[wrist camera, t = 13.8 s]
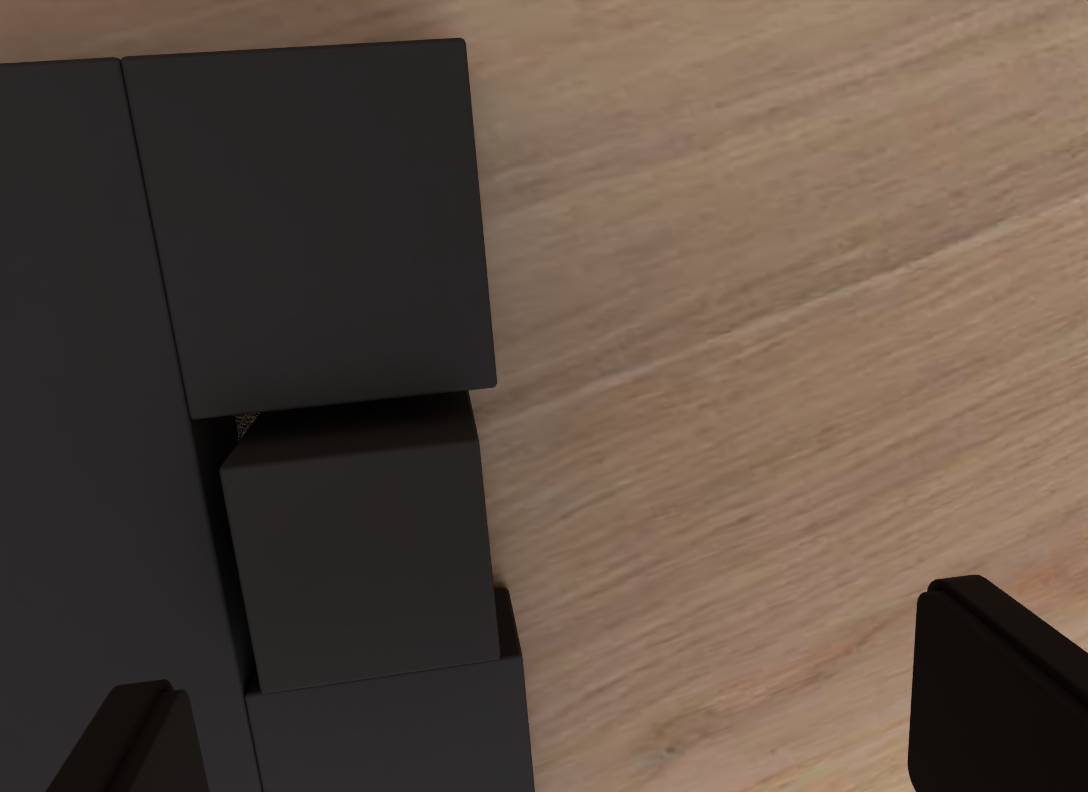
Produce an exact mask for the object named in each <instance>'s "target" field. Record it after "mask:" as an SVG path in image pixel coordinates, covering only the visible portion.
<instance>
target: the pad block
mask: <svg viewBox="0 0 1088 792" xmlns="http://www.w3.org/2000/svg"><path fill="white" fill-rule="evenodd" d="M219 472H220V478H221V483H222V488H223V493H224V499H225V504H226V509H227V515H228V520H229V525H230V530H231V536H232V541H233V546H234V552H235V557H236V562H237V568H238V573H239V578H240V583H241V589H242V594H243V599H244V605H245V610H246V615H247V620H248V626H249V631H250V636H251V642H252V647H253V652H254V657H255V663H256V668H257V673H258V679H259V684H260V689H261V692H262V693H272V692H279V691H285V690H292V689H299V688H306V687H313V686H320V685H326V684H333V683H340V682H347V681H354V680H361V679H368V678H374V677H381V676H388V675H395V674H402V673H409V672H416V671H422V670H429V669H436V668H443V667H450V666H457V665H463V664H470V663H477V662H484V661H491V660H497V659H499V657H500V646H499V636H498V626H497V616H496V606H495V596H494V586H493V576H492V566H491V556H490V546H489V536H488V526H487V516H486V506H485V496H484V486H483V476H482V466H481V456H480V446H479V439H478V434H477V429H476V424H475V420H474V415H473V410H472V406H471V401H470V396H469V391H468V390H466V391H457V392H447V393H438V394H428V395H419V396H410V397H400V398H391V399H381V400H372V401H363V402H353V403H344V404H335V405H325V406H316V407H306V408H297V409H288V410H278V411H269V412H261V413H260V414H259V415H258V417H257V418H256V419H255V421H254V422H253V424H252V425H251V426H250V428H249V429H248V430H247V432H246V433H245V434H244V436H243V437H242V439H241V440H240V441H239V443H238V444H237V445H236V447H235V448H234V449H233V451H232V452H231V454H230V455H229V456H228V458H227V459H226V460H225V462H224V463H223V465H222V466H221V467H220V470H219Z"/></svg>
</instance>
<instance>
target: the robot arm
mask: <svg viewBox="0 0 1088 792" xmlns="http://www.w3.org/2000/svg"><path fill="white" fill-rule="evenodd" d="M908 771H909V776H910V779H911V782H912V784H913V786H914V789H915V791H916V792H1088V653H1087V652H1086V651H1084V650H1083V649H1081V648H1080V647H1079V646H1077V645H1076V644H1075V643H1073V642H1072V641H1071V640H1069V639H1068V638H1066V637H1065V636H1064V635H1062V634H1061V633H1060V632H1058V631H1057V630H1055V629H1054V628H1053V627H1051V626H1050V625H1049V624H1047V623H1046V622H1045V621H1043V620H1042V619H1040V618H1039V617H1038V616H1036V615H1035V614H1034V613H1032V612H1031V611H1030V610H1028V609H1027V608H1025V607H1024V606H1023V605H1021V604H1020V603H1019V602H1017V601H1016V600H1014V599H1013V598H1012V597H1010V596H1009V595H1008V594H1006V593H1005V592H1004V591H1002V590H1001V589H999V588H998V587H997V586H995V585H994V584H993V583H991V582H990V581H989V580H987V579H986V578H984V577H982V576H980V575H967V576H959V577H952V578H944V579H936V580H934V581H932V582H931V583H930V585H929V587H928V590H927V592H924V593H922V594H920V596H919V598H918V602H917V613H916V629H915V646H914V663H913V680H912V697H911V714H910V731H909V748H908ZM46 792H210V791H209V786H208V781H207V777H206V772H205V767H204V763H203V758H202V753H201V749H200V744H199V739H198V735H197V730H196V725H195V721H194V716H193V712H192V707H191V702H190V699H189V695H188V693H187V692H186V690H184V689H180V690H174V689H173V686H172V685H171V683H170V681H168V680H166V679H162V680H154V681H146V682H138V683H131V684H123V685H118V686H115V687H114V688H113V689H112V690H111V691H110V692H109V694H108V695H107V697H106V699H105V700H104V702H103V703H102V705H101V706H100V708H99V709H98V711H97V713H96V714H95V716H94V717H93V719H92V720H91V722H90V723H89V725H88V726H87V728H86V730H85V731H84V733H83V734H82V736H81V737H80V739H79V740H78V742H77V744H76V745H75V747H74V748H73V750H72V751H71V753H70V754H69V756H68V758H67V759H66V761H65V762H64V764H63V765H62V767H61V768H60V770H59V771H58V773H57V775H56V776H55V778H54V779H53V781H52V782H51V784H50V785H49V787H48V789H47V790H46Z"/></svg>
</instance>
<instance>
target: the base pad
mask: <svg viewBox="0 0 1088 792" xmlns="http://www.w3.org/2000/svg"><path fill="white" fill-rule="evenodd" d="M496 384H497V376H496V366H495V355H494V344H493V333H492V322H491V311H490V301H489V290H488V279H487V268H486V257H485V246H484V235H483V225H482V214H481V203H480V192H479V181H478V170H477V160H476V149H475V138H474V127H473V116H472V105H471V94H470V84H469V73H468V62H467V51H466V43H465V40H464V39H462V38H448V39H430V40H412V41H394V42H377V43H359V44H341V45H323V46H305V47H287V48H269V49H252V50H234V51H216V52H198V53H180V54H162V55H145V56H127V57H124V58H122V60H120V59H118V58H115V57H109V58H91V59H74V60H56V61H38V62H20V63H2V64H0V792H46V790H47V789H48V787H49V785H50V784H51V782H52V781H53V779H54V778H55V776H56V775H57V773H58V771H59V770H60V768H61V767H62V765H63V764H64V762H65V761H66V759H67V758H68V756H69V754H70V753H71V751H72V750H73V748H74V747H75V745H76V744H77V742H78V740H79V739H80V737H81V736H82V734H83V733H84V731H85V730H86V728H87V726H88V725H89V723H90V722H91V720H92V719H93V717H94V716H95V714H96V713H97V711H98V709H99V708H100V706H101V705H102V703H103V702H104V700H105V699H106V697H107V695H108V694H109V692H110V691H111V690H112V689H113V688H114V687H115V686H118V685H123V684H131V683H138V682H146V681H154V680H162V679H166V680H168V681H170V683H171V685H172V686H173V689H174V690H180V689H184V690H186V692H187V693H188V695H189V699H190V702H191V707H192V712H193V716H194V721H195V725H196V730H197V735H198V739H199V744H200V749H201V753H202V758H203V763H204V767H205V772H206V777H207V781H208V786H209V791H210V792H535V788H534V778H533V767H532V756H531V745H530V734H529V723H528V713H527V702H526V691H525V680H524V669H523V658H522V652H521V647H520V643H519V638H518V633H517V628H516V623H515V618H514V613H513V608H512V604H511V599H510V594H509V590H508V589H506V588H503V589H496V590H494V596H495V606H496V616H497V626H498V636H499V646H500V657H499V659H497V660H491V661H484V662H477V663H470V664H463V665H457V666H450V667H443V668H436V669H429V670H422V671H416V672H409V673H402V674H395V675H388V676H381V677H374V678H368V679H361V680H354V681H347V682H340V683H333V684H326V685H320V686H313V687H306V688H299V689H292V690H285V691H279V692H272V693H262V692H261V689H260V684H259V679H258V673H257V668H256V663H255V657H254V652H253V647H252V642H251V636H250V631H249V626H248V620H247V615H246V610H245V605H244V599H243V594H242V589H241V583H240V578H239V573H238V568H237V562H236V557H235V552H234V546H233V541H232V536H231V530H230V525H229V520H228V515H227V509H226V504H225V499H224V493H223V488H222V483H221V478H220V472H219V470H220V467H221V466H222V465H223V463H224V462H225V460H226V459H227V458H228V456H229V455H230V454H231V452H232V451H233V449H234V448H235V447H236V445H237V444H238V440H237V435H236V429H235V424H234V418H233V415H241V414H250V413H260V412H269V411H278V410H288V409H297V408H306V407H316V406H325V405H335V404H344V403H353V402H363V401H372V400H381V399H391V398H400V397H410V396H419V395H428V394H438V393H447V392H457V391H466V390H475V389H485V388H493V387H495V386H496Z"/></svg>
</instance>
